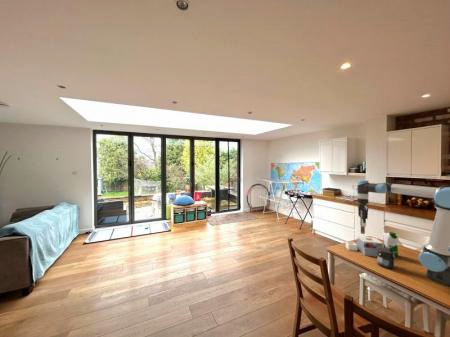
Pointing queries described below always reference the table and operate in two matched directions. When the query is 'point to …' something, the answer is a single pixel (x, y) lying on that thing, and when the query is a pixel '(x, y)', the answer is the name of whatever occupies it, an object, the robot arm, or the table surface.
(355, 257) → the table surface
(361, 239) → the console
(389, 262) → the supplement container
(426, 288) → the table surface
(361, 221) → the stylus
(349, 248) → the holder
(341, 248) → the table surface
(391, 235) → the milk carton
